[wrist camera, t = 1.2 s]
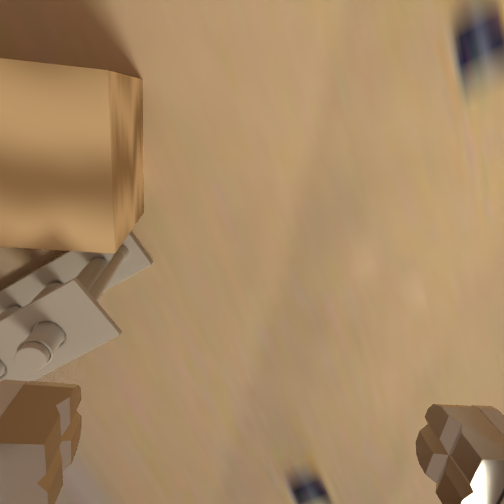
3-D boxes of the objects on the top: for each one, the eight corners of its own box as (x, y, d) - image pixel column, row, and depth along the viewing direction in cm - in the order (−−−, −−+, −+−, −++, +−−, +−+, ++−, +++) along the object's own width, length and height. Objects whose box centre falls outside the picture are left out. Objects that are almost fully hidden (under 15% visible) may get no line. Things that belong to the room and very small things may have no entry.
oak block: (-67, 56, 25) (-206, 34, 17) (142, 79, 27) (107, 70, 19) (-39, 198, 29) (-143, 237, 21) (144, 212, 31) (115, 253, 22)
